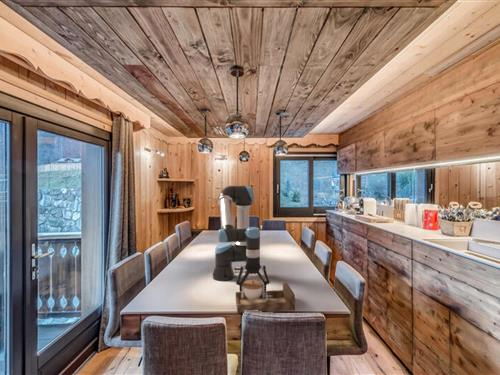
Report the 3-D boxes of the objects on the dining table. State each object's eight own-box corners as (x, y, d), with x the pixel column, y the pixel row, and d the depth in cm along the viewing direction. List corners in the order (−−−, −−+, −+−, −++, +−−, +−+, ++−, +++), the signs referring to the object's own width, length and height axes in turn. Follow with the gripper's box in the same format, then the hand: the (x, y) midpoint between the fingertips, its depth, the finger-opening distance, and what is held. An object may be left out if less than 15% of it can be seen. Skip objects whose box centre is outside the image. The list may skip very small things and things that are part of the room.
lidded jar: (261, 293, 146) (262, 276, 146) (263, 302, 136) (263, 284, 136) (242, 293, 146) (243, 277, 146) (242, 302, 135) (242, 284, 135)
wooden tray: (237, 313, 132) (237, 297, 132) (235, 299, 148) (235, 285, 148) (294, 310, 135) (294, 294, 135) (287, 296, 151) (287, 283, 151)
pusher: (265, 308, 135) (265, 295, 135) (262, 297, 148) (262, 285, 148) (275, 307, 136) (275, 294, 136) (270, 297, 149) (270, 285, 148)
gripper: (231, 258, 136) (231, 300, 136) (275, 257, 138) (275, 298, 138) (231, 254, 143) (231, 294, 143) (272, 254, 146) (272, 293, 146)
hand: (252, 296), depth 141 cm, fingers closed on lidded jar, 11 cm apart
